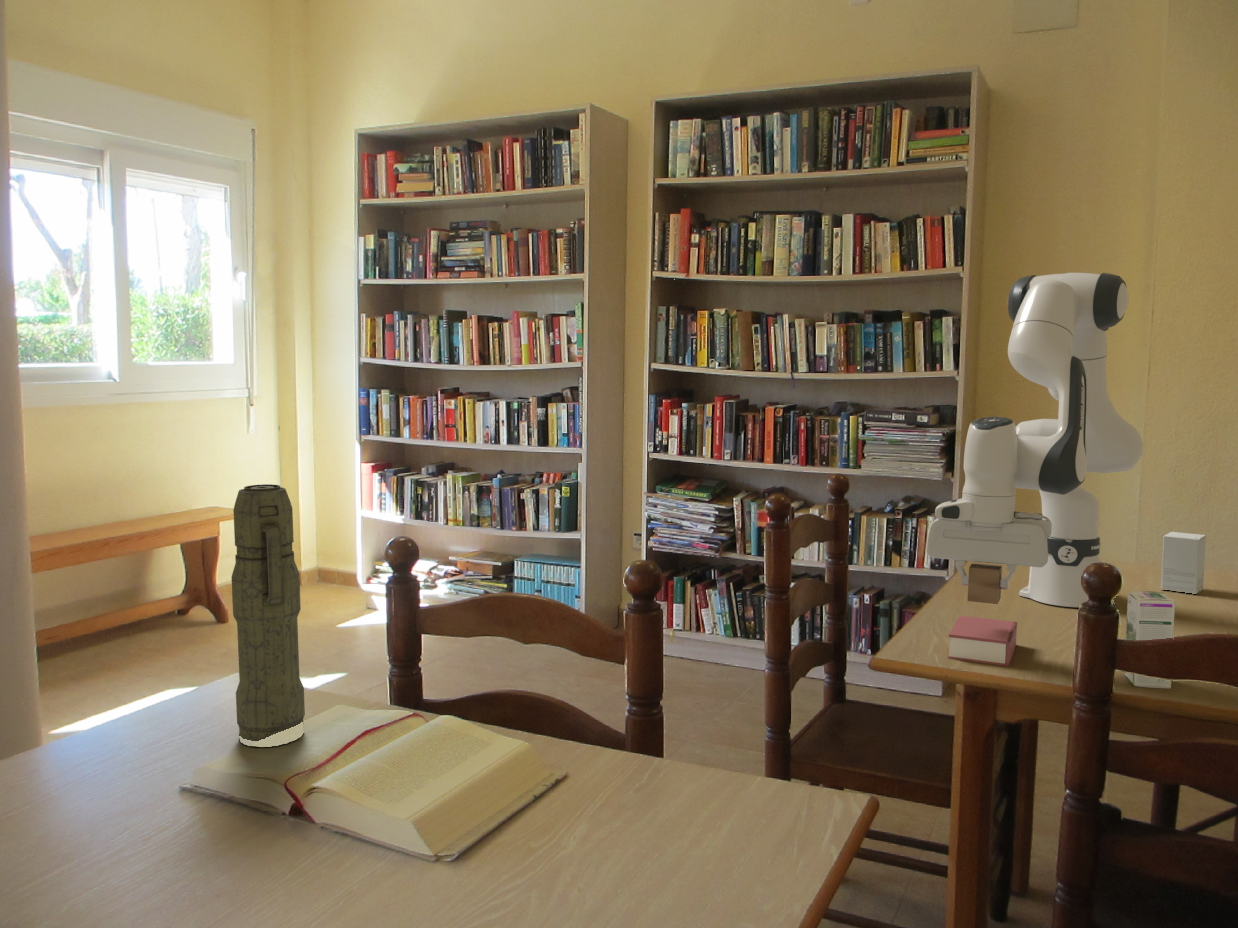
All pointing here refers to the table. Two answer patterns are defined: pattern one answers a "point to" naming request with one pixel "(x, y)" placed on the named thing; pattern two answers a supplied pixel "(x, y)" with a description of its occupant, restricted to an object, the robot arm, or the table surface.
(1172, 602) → the syrup box
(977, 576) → the walnut block
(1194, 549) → the supplement box
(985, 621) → the book
